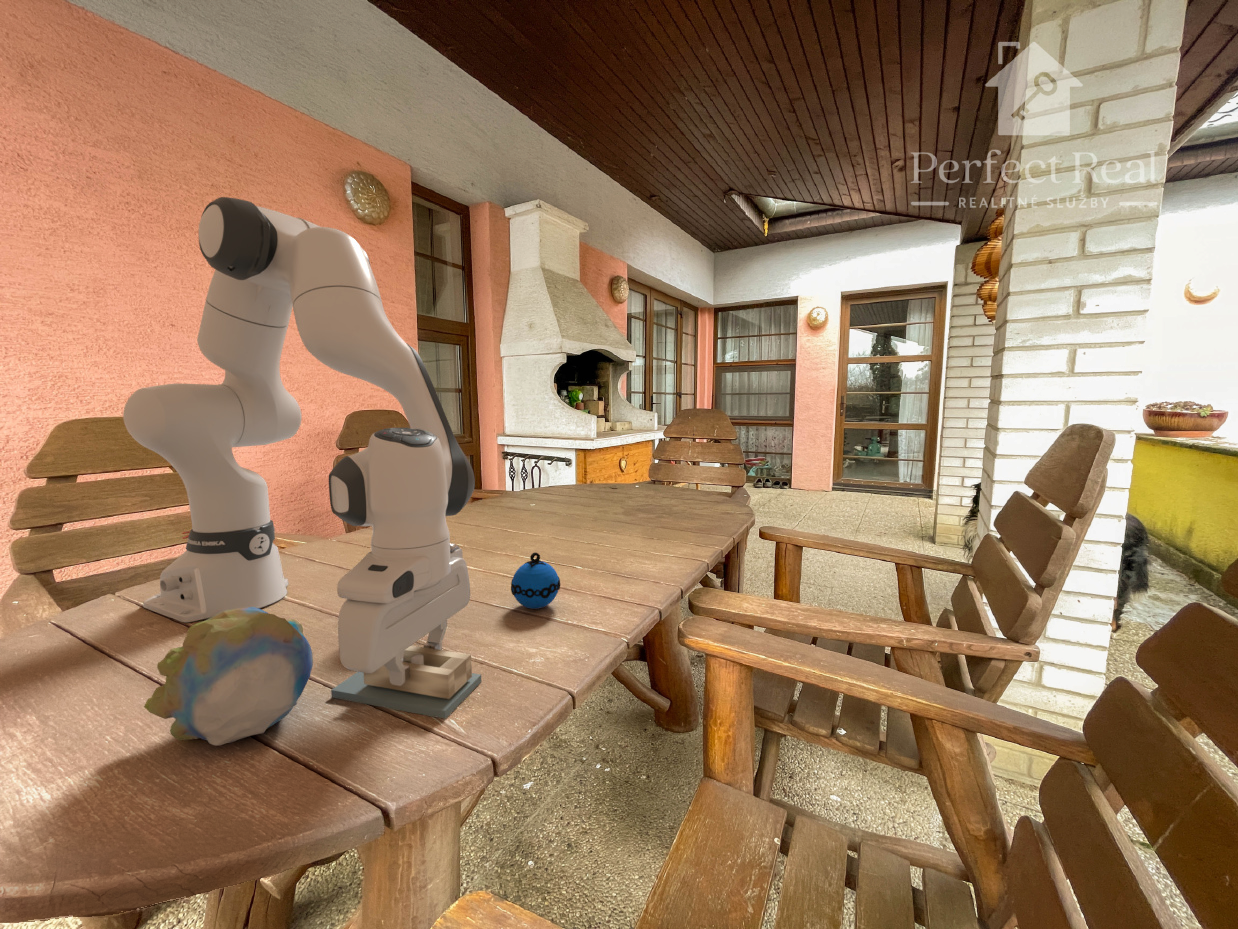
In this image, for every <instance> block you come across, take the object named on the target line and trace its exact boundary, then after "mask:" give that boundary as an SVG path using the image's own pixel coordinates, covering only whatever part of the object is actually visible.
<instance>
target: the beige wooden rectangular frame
mask: <svg viewBox="0 0 1238 929" xmlns="http://www.w3.org/2000/svg"><path fill="white" fill-rule="evenodd" d="M415 655H423V660H424V665H420V664H413V663H412V662H411V658H412V657H413V656H415ZM402 664H403V665H406V666H410V673H409V674H410V678H409V679H408V680H407V681H406V682H405V683H404V684H402V685H401V686H398V685H392V684H391V683H390V677H389V671H388V669H387V668H386V667H385V666H384V665H383V666H382V667H380V668H379V669H377V670H376V671H375V672H373V673H363V675H364V684H367V685H372V686H378V687H384V688H389V689H395V690H401V691H406V692H412V693H418V694H423V695H429V696H435V697H440V698H446V699H450V698H451V697H452V696H453V695H454V694H455V693H456V692H457V691H458V690H459V689H460V688H461V687H462V686H463V685H464V684H465V683H466V682H467V681H468V680H469V679H470V678H471V677H472V673H473V670H472V669H473V667H472V654H470V653H463V652H457V651H456V652H455V651H451V650H444V649H442V650H437V649H430V648H424V646H423V647H422V646H415V645H411V646H410V647H408V648H407V649H405V650H404V657H403V662H402Z"/></svg>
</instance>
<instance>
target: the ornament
mask: <svg viewBox="0 0 1238 929" xmlns="http://www.w3.org/2000/svg"><path fill="white" fill-rule="evenodd" d="M535 557H536V558H535ZM529 558H530V560H528V561H526V562H524V563H523V564H521V565H520V567H518V569H517V570H515V572H514V574H513V577H512V579H511V582H510V590H511V595H512V596H513V597H514V598H515V600H516V601H517V602H518V603H519V604H520V605H522V606H523V607H524V608H528V609H531V610H536V609H537V610H538V609H539V610H540V609H542V608H544V607H547V606H548V605H550V604H551V603H552V602H553V601H554V600H555V598H556V596H557V595H558V593H559V591H560V589H561V579H560V577H559V575H558V573H557V571H556V570H555V568H554V567H553V566H552V565H551V564H549V563H547V562H545V561H542V560H541V555H540V554H539V553H538V552H533V553H531V554H530V557H529Z"/></svg>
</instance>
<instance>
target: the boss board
mask: <svg viewBox="0 0 1238 929" xmlns="http://www.w3.org/2000/svg"><path fill="white" fill-rule="evenodd" d="M400 660H401V662H403V658H402V659H400ZM411 662H412V663H413V664H420V665H424V660H423V655H415V656H413V657H412V658H411ZM480 683H483V682H482V674H481V673H473V672H472V677H471V678H470V679H469V680H468V681H467V682H466V683H465V684H464V685H463V686H462V687H461V688H460V689H459V690H458V691H457V692H456V693H455V694H454V695H453V696H452V697H451V698H450V699H446V698H440V697H435V696H429V695H423V694H418V693H412V692H406V691H401V690H395V689H389V688H384V687H378V686H372V685H367V684H364V675H363V672H357V671H356V672H355V673H354V674H352V675H351V676H349V677H348V678H346V679H345V680H344V681H342V682H340V683H339V684H338V685H335V687H333V688H332V689H331V690H330V694H331V695H330V696H331V698H334V699H338V700H343V701H349V702H354V703H357V704H359V703H360V704H364V705H371V706H375V707H379V708H380V707H381V708H385V709H391V710H395V711H402V712H407V713H411V714H412V713H413V714H417V715H423V716H429V717H433V718H438V719H443V720H446V719H447V718H448V717H449V716H450V715H451V714H452V713H453V712H454V711H455V710H456V709H457V708H458V707H459V706H460V705H461V703H462V702H463V701H464V700H466V699H467V697H469V695H470V694H471V693H472V692H473V691H474V690H475V689H476V688H477V687H478V686H479V685H480Z"/></svg>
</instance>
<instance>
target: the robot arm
mask: <svg viewBox="0 0 1238 929" xmlns="http://www.w3.org/2000/svg"><path fill="white" fill-rule="evenodd" d="M198 244H199V249H200V253H201V254H202V256H203V258H204V259H205V261H206V262H207V263H208V265H209V266H210V267H211V268H212V269H213V270H214V272H213V274H212V278H211V280H210V284H209V287H208V290H207V294H206V296H205V297H206V298H205V302H204V305H203V306H204V308H203V311H202V317H201V320H200V324H199V330H198V334H197V337H196V341H197V346H198V348H199V350H200V352H201V354H202V355H203V356H204V357H205V358H206V359H207V360H208V361H209V362H210V363H212V364H213V365H215V366H216V367H219V368H220V369H222V370H224V380H223V381H222V383H220V384H207V383H206V384H205V383H203V384H202V383H197V384H196V383H167V384H161V385H154V386H153V385H152V386H147V387H141V388H138V389H137V390H136V391H134V392H133V393H132V394H131V396H129V398H128V399H127V401H126V403H125V405H124V409H123V414H122V416H123V424H124V426H125V428H126V431H127V432H128V434H129V435H130V436H131V438H132V439H133V440H134V441H136V442H137V443H138V444H139V445H141V446H142V447H144V448H145V449H148V450H150V451H152V452H154V453H155V454H158V455H159V456H160V457H162V458H163V459H164V460H166V462H168V463H169V464H170V465H171V466H172V468H174V470H175V471H176V472H177V474H178V475H179V477H180V479H181V480H182V481H181V482H182V483H183V485H184V487H185V491H186V496H187V499H188V505H189V512H190V518H191V519H190V520H191V529H190V530H189V531H184V532H182V533H181V534H182V535H185V536H183V537H182V540H185V539H186V540H187V541H186V545H185V551H184V552H183V553H181V555H179V556H178V557H177V558H176V559H175V560H174V561H173V562H171V563H170V564H169V565H168V566H166V567H165V568H164V569H163V570H162V571H161V573H160V577H159V589H160V592H159V593H158V594H155V595H153V596H151V597H149V598H147V599H146V600H144V601H143V604H142V608H144V609H147V610H149V611H151V612H153V613H154V612H155V613H156V614H160V615H161V616H162V615H163V616H165V617H168V618H171V619H173V620H176V621H179V622H181V623H191V622H197V621H201V620H205V619H206V620H207V619H209V618H212V617H213V616H215V615H217V614H219V613H222V612H224V611H227V610H232V609H238V608H247V607H255V608H259V609H261V608H264V607H267V606H269V605H272V604H274V603H276V602H278V601H280V600H282V599H283V598H284V597H285V596H286V595H287V594H288V590H287V588H286V587H288V585H289V579H288V578H287V577H286V578H285V577H284V573H283V566H282V562H281V557H280V553H279V548H278V546H277V545H276V544H275V543H274V541H275V539H276V534H275V532H276V527H275V525H274V521H273V520H272V519H271V512H270V511H271V510H270V500H269V489H268V483H267V482H266V479H264V478H263V476H262V475H260V474H259V473H257V472H256V471H253V470H251V469H248V468H244V467H242V466H241V465H240V464H239V463H238V462H237V460H236V459H235V456H234V454H233V448H243V447H255V446H266V445H270V444H275V443H279V442H281V441H285V440H289V439H291V438H292V437H294V436H296V434H297V432H298V431H299V429H300V427H301V424H302V420H303V419H302V410H301V406H300V405H299V402H298V401H297V400H296V398H295V397H294V395H292V394H291V393H290V392H289V391H288V390H287V389H286V388H285V386H284V384H283V381H282V379H281V378H282V377H281V371H280V366H281V365H280V364H281V357H282V352H283V349H284V344H285V340H286V335H287V330H288V328H289V324H290V320H291V317H292V311H293V315H294V321H295V324H296V328H297V331H298V334H299V336H300V339H301V341H302V344H303V346H304V347H305V349H306V350H307V351H308V352H309V353H310V354H311V355H312V356H313V358H315V359H317V360H318V361H319V363H322V364H323V365H325V366H326V367H328V368H330V369H332V370H334V371H336V372H338V373H341V374H344V375H347V376H349V377H353V378H356V379H359V380H362V381H365V382H367V383H370V384H372V385H374V386H377V387H378V388H381V389H382V390H384V391H386V392H388V393H389V394H390V395H392V397H394V398H395V399H396V401H398V403H399V404H400V406H401V408H402V410H403V412H404V414H405V417H406V419H407V422H408V424H409V427H389V428H388V427H387V428H383V429H380V430H377V431H376V432H373V433H372V434H371V436H370V438H369V440H368V445H367V447H366V448H364V449H363V450H361V451H358V452H356V453H353V454H351V455H345V456H344V457H343V458H342V459H340V460H339V461H338V462H337V463H336V465H335V466H334V467H333V468H332V470H331V471H330V472H329V473H328V492H329V493H328V494H329V495H328V496H329V503H330V508H331V513H332V514H333V515H335V517H337V518H339V519H340V520H342V521H343V522H345V523H347V524H348V525H351V526H352V527H372V534H371V541H370V549H371V551H369V552H367V554H365V555H364V556H363V558H362V559H361V560H360V561H359V562H358V563H357V564H356V565H355V566H353V567H352V568H351V569H350V570H349V571H347V572H346V573H345V574H343V576H342V577H341V578H340V579H339V580H338V582H337V584H336V588H337V589H336V591H337V596H338V597H339V598H342V599H345V601H344V602H343V604H342V605H341V608H340V610H339V614H338V623H337V624H338V625H337V626H338V628H337V630H338V631H337V632H338V633H337V634H338V636H337V637H338V651H339V653H338V654H339V660H340V663H341V665H342V666H344V668H345V669H347V670H349V671H352V672H353V671H354V672H356V673H357V672H363V673H373V672H375V671H376V670H377V669H379V668H380V667H382V666H383V665H384V666H385V667H386V668H387V669H388V671H389V677H390V683H391V684H392V685H398V686H401V685H402V684H404V683H405V682H406V681H407V680H408V679H409V678H410V674H409V673H410V666H406V665H403V664H402V662H401V660H400V659H402V658H403V657H404V650H405V649H407V648H408V647H410V646H413V645H414V644H415V643H417V642H418V641H420V640H421V639H423V637H425V636H427V640H426V641H427V642H425V643H424V644H423V647H424V648H430V649H437V650H443V640H444V637H445V634H446V631H447V627H448V620H449V619H450V618H452V617H453V616H454V615H456V614H457V613H459V612H460V611H462V610H463V609H465V607H467V606H468V604H469V602H470V599H471V587H470V586H471V585H470V584H471V583H470V578H469V577H470V575H469V571H468V565H467V562H466V560H465V558H463V550H462V548H461V547H460V546H459V545H457V544H456V543H454V542H452V543H451V542H450V541H451V540H450V539H451V538H450V530H449V527H448V524H447V519H446V517H450V516H451V517H453V516H456V515H457V514H459V513H460V511H461V510H463V509H464V508H465V506H466V505H467V504H468V503H469V501H470V499H471V497H472V495H473V493H474V490H475V486H476V484H475V483H476V482H475V481H476V480H475V474H474V473H475V472H474V470H473V468H472V465H471V463H470V461H469V459H468V458H467V456H466V454H465V452H464V451H463V449H462V448H461V445H459V442H458V441H457V439H456V437H455V435H454V432H453V430H452V428H451V425H450V423H449V420H448V417H447V415H446V413H445V411H444V408H443V406H442V403H441V400H440V398H439V396H438V393H437V392H436V389H435V386H434V384H433V382H432V379H431V377H430V375H429V373H428V371H427V368H426V366H425V364H424V362H423V359H422V358H421V356H420V355H419V352H418V351H417V350H416V349H415V348H414V347H412V346H411V345H410V344H409V343H407V342H406V341H405V340H404V339H403V338H402V337H401V336H400V335H399V333H398V332H397V331H396V329H395V328H394V327H393V325H392V323H391V321H390V320H389V318H388V317H387V314H386V312H385V309H384V306H383V301H382V296H381V293H380V290H379V286H378V284H377V280H376V278H375V274H374V271H373V269H372V267H371V262H370V259H369V256H368V254H367V252H366V250H365V249H364V248H362V246H361V244H359V242H358V241H357V240H356V239H355V238H354V237H352V236H351V235H350V234H348V233H347V232H344V231H342V230H341V229H337V228H334V227H329V226H327V227H326V226H320V225H318V224H315V223H313V222H310V221H308V220H306V219H304V218H301V217H294V216H292V215H291V214H290V215H289V214H286V213H283V212H280V211H277V210H274V209H270V208H267V207H263V206H259V205H255V203H253V202H252V201H249V200H244V199H240V198H236V197H230V196H229V197H227V196H221V197H217V198H216V199H214V200H212V201H211V202H209V203H208V204H207V205H206V206H205V208H204V210H203V212H202V214H201V217H200V220H199V224H198ZM186 534H188V535H186Z"/></svg>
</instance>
